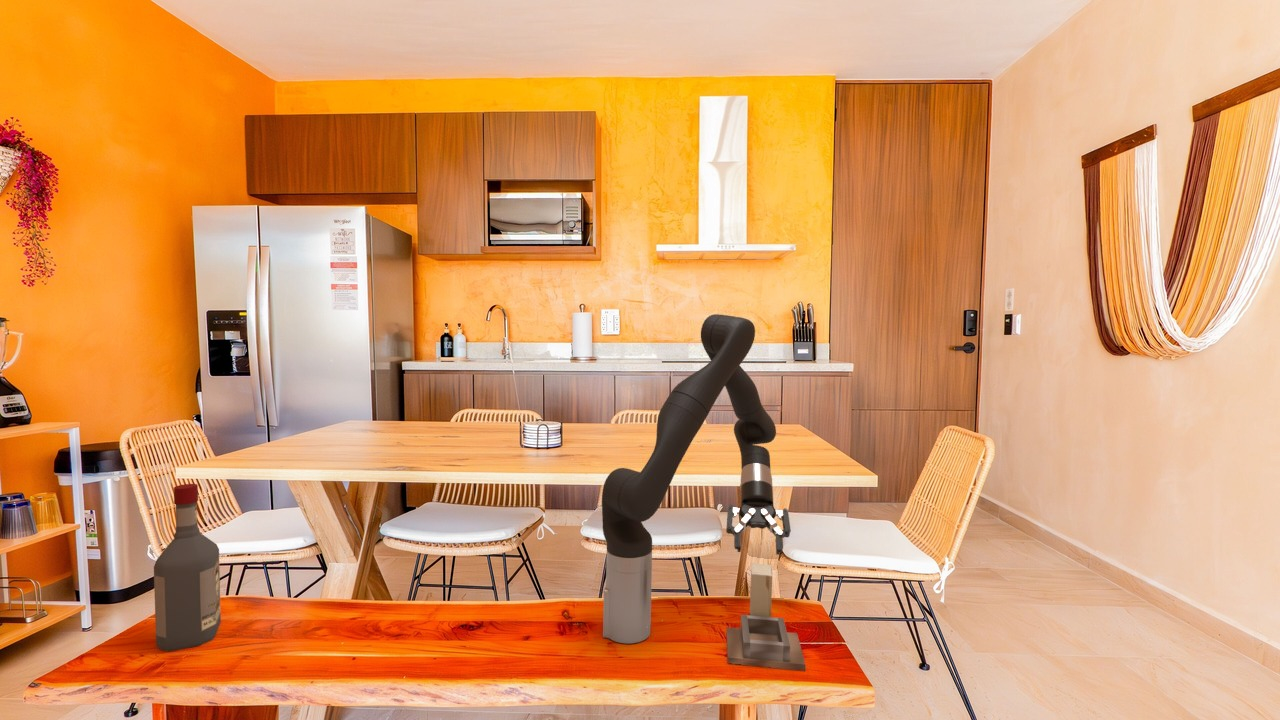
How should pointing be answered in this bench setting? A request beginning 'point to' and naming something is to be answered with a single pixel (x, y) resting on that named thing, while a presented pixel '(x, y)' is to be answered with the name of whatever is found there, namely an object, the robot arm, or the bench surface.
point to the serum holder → (764, 644)
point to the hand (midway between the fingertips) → (758, 552)
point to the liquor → (187, 581)
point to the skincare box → (761, 590)
